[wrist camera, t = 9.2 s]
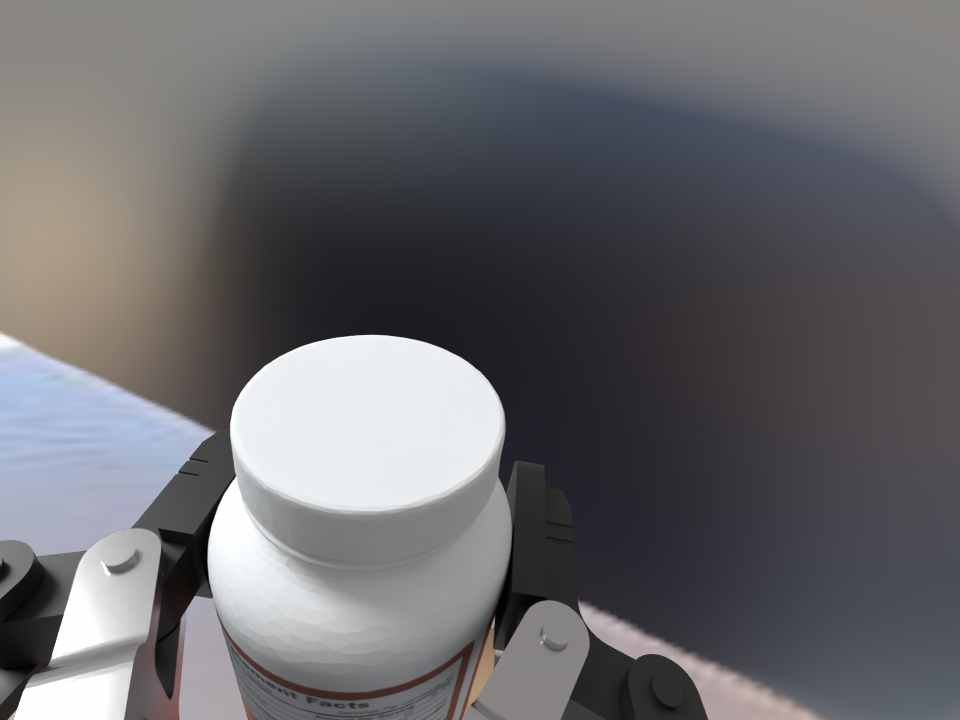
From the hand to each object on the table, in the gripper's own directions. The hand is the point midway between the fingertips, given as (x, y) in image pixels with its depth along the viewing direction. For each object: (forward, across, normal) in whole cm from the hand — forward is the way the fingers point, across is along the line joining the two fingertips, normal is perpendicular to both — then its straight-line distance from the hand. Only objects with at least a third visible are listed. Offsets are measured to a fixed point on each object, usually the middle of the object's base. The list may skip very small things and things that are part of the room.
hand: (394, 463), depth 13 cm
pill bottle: (-2, 0, +7) cm, 8 cm away
